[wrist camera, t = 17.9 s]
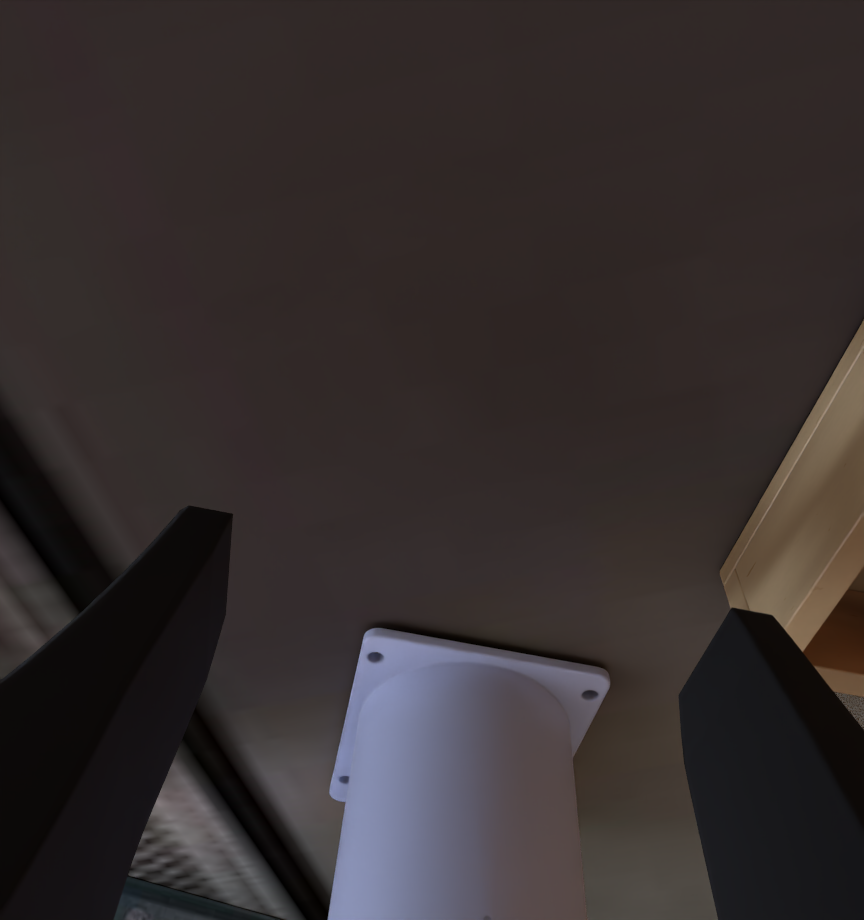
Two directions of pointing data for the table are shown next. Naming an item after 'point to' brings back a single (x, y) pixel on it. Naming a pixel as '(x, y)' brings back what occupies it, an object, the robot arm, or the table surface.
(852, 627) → the tray
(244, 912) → the cassette player
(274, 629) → the table surface
